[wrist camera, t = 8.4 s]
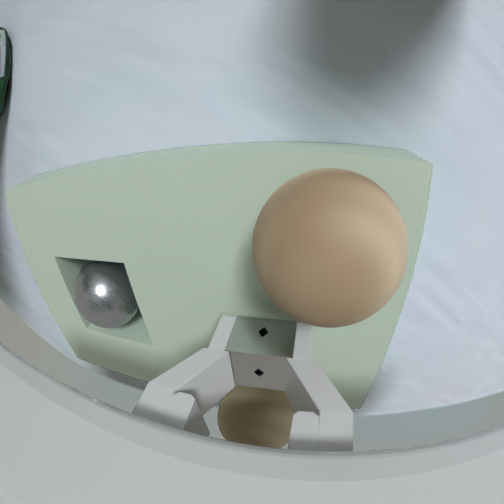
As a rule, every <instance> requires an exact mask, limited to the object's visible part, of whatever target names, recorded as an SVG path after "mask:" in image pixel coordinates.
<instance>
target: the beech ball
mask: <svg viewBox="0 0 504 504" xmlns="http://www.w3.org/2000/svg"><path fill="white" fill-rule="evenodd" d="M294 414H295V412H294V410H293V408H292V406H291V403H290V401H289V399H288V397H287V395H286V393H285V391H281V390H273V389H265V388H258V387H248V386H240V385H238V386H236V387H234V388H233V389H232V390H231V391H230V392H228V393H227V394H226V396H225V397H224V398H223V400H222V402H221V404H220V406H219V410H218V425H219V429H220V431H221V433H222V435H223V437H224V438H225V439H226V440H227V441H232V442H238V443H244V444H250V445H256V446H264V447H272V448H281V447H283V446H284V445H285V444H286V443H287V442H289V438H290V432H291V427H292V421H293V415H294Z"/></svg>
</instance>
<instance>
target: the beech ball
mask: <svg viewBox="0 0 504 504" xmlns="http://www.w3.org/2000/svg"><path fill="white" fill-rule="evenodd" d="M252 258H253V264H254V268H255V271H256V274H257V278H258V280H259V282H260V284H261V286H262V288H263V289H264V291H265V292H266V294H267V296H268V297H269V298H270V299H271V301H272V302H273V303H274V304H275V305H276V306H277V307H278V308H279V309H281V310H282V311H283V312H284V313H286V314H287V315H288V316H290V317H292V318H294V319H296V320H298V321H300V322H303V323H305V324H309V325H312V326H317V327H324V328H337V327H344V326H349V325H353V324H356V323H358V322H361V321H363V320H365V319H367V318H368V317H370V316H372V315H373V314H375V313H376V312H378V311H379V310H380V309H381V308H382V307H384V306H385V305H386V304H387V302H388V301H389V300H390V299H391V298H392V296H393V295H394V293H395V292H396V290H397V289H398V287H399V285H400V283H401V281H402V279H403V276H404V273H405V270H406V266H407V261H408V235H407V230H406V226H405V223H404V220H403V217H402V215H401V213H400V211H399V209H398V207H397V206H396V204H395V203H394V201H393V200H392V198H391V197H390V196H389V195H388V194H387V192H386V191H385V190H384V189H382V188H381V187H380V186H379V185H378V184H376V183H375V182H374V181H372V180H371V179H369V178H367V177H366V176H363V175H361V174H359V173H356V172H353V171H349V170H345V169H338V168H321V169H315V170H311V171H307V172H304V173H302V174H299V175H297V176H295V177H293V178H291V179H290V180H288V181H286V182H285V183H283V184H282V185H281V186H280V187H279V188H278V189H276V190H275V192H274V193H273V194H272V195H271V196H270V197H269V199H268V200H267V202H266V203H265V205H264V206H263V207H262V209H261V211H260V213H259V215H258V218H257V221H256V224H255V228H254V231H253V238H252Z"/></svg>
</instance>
